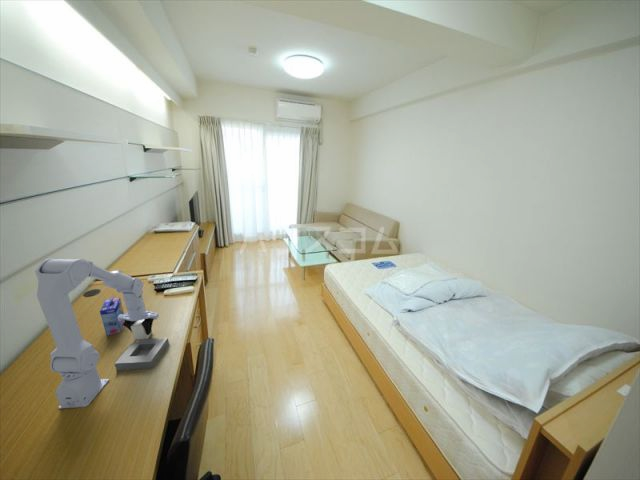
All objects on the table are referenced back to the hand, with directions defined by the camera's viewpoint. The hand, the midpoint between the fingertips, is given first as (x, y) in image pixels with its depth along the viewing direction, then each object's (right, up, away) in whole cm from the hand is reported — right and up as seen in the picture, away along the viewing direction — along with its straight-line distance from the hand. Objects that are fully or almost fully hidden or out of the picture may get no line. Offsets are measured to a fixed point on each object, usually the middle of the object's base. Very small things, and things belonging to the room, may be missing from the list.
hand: (142, 333), depth 101 cm
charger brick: (0, -2, 0) cm, 2 cm away
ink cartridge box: (-16, 0, +6) cm, 17 cm away
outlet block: (+7, -5, -9) cm, 13 cm away
